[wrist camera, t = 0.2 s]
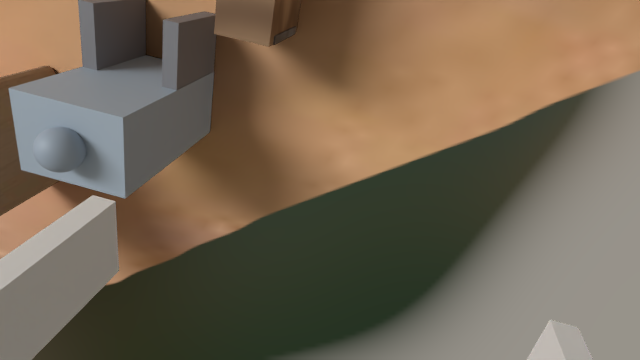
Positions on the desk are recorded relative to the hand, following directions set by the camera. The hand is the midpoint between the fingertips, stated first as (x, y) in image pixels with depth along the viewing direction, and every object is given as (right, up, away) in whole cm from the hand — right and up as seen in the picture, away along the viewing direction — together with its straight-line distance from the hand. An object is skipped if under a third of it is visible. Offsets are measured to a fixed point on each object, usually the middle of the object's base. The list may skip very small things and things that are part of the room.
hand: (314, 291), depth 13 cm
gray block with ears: (-13, +14, +27) cm, 33 cm away
